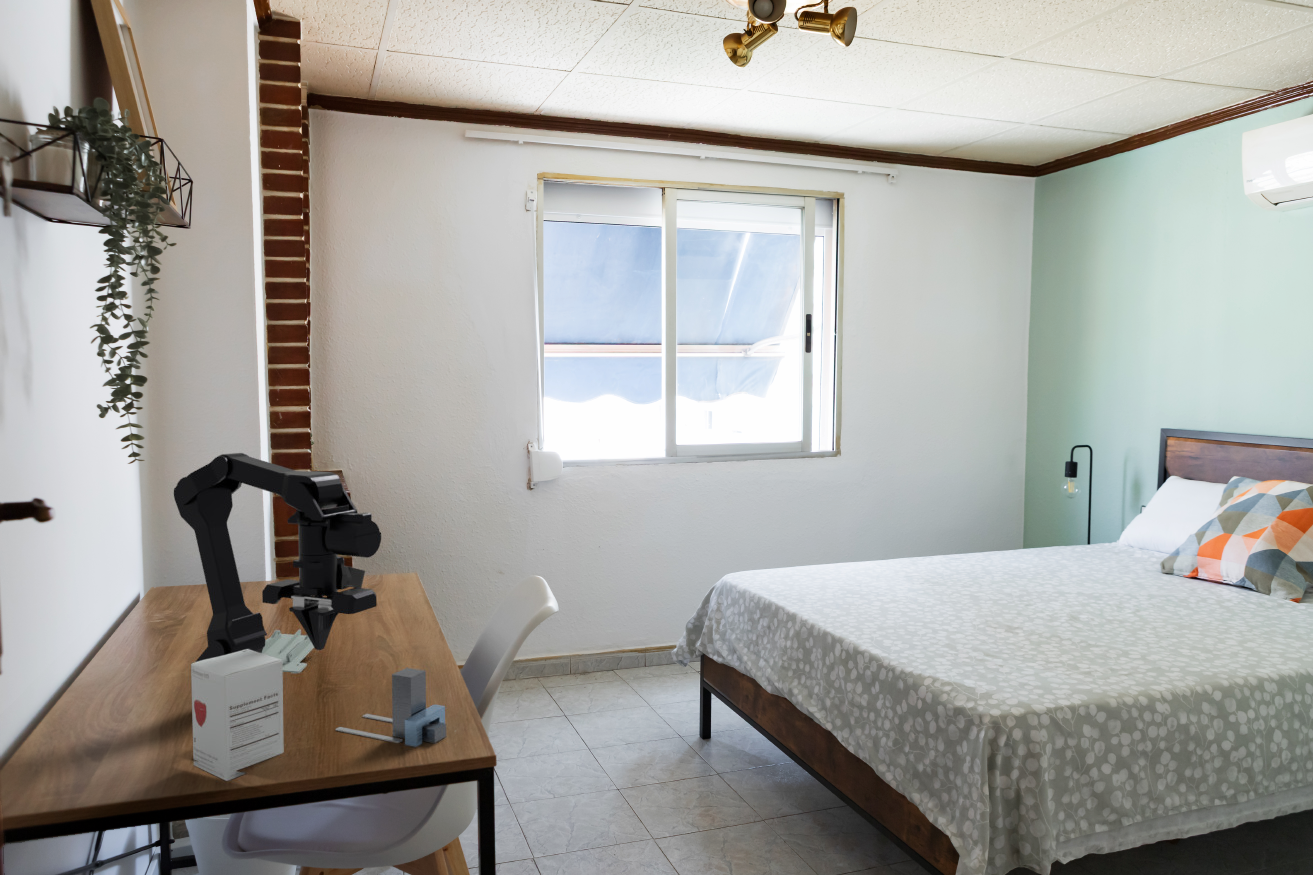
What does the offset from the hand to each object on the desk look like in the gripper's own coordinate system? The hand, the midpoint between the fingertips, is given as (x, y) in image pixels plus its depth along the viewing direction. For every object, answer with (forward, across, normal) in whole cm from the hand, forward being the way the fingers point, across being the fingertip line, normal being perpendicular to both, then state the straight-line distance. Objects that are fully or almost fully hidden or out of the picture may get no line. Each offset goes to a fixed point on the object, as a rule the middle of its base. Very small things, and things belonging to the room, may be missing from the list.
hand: (319, 649), depth 140 cm
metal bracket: (+13, +31, -22) cm, 40 cm away
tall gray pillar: (+11, -19, 0) cm, 22 cm away
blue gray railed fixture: (+12, -14, 0) cm, 18 cm away
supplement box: (+12, 0, +16) cm, 20 cm away
